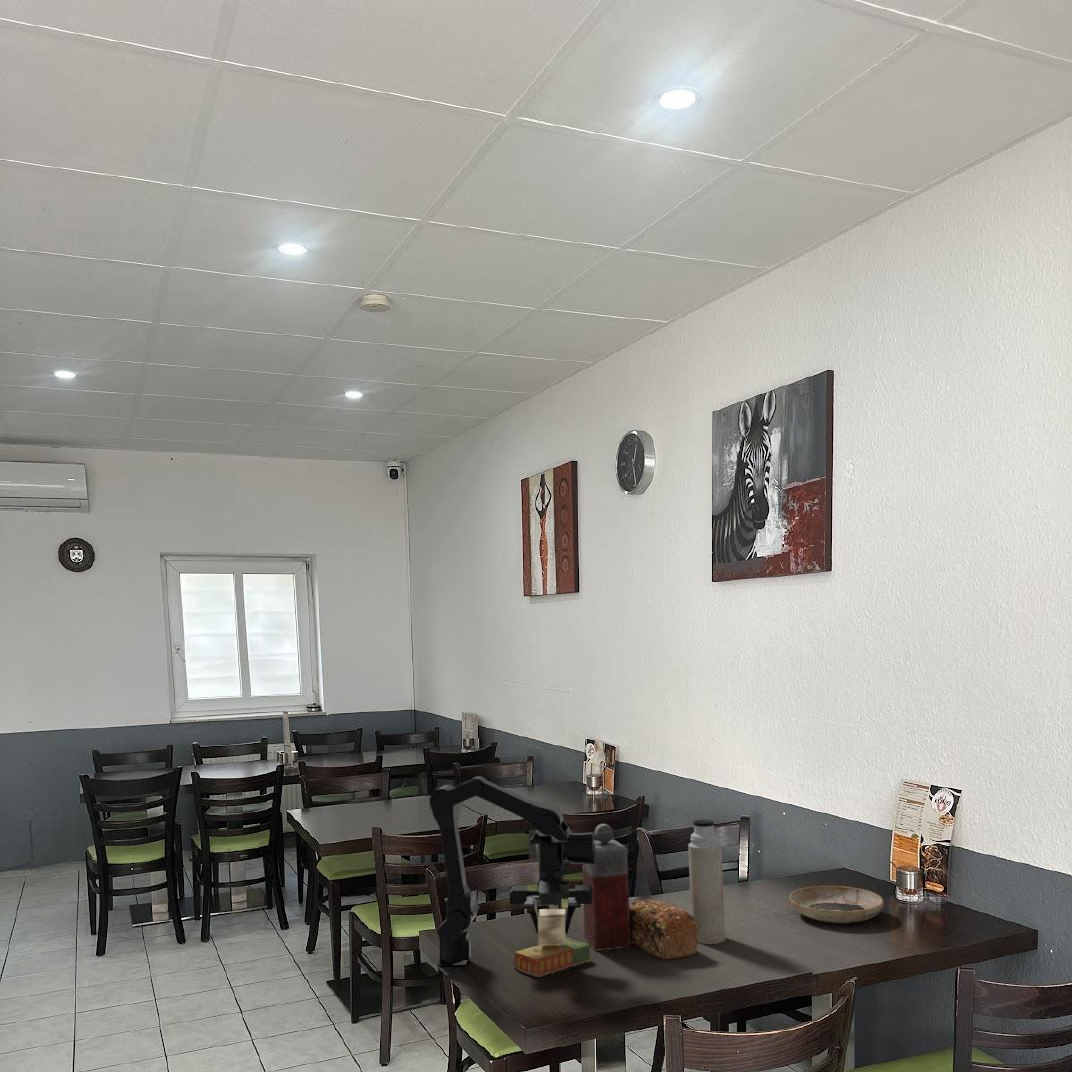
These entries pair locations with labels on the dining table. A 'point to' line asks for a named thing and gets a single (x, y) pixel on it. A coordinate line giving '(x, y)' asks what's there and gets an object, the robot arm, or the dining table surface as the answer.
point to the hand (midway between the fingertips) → (552, 933)
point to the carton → (552, 956)
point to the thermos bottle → (706, 883)
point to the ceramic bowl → (836, 894)
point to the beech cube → (551, 927)
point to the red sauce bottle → (607, 893)
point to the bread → (662, 929)
